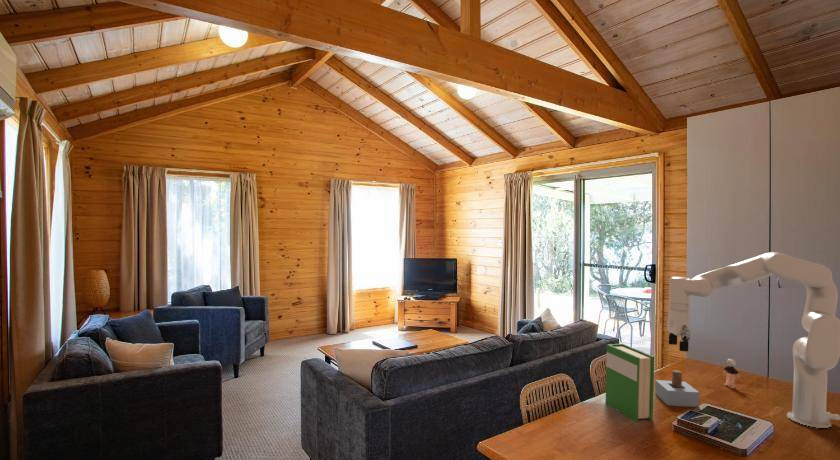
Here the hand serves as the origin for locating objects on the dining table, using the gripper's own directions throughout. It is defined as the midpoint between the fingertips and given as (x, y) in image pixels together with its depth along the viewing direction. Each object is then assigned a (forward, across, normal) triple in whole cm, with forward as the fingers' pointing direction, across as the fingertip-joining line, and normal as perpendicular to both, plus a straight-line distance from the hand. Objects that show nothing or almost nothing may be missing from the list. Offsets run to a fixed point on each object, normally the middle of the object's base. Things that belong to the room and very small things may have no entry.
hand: (678, 347), depth 186 cm
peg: (+22, 0, 0) cm, 22 cm away
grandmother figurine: (+22, -20, +32) cm, 44 cm away
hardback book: (+22, +14, -24) cm, 36 cm away
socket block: (+22, 0, 0) cm, 22 cm away
